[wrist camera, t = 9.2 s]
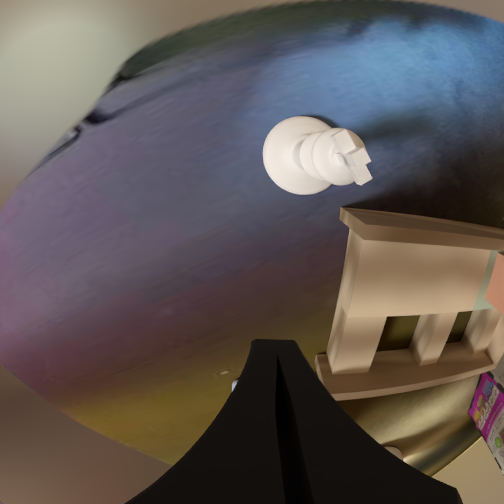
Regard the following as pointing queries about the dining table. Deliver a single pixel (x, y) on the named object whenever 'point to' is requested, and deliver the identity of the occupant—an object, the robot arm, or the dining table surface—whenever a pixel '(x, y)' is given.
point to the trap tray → (411, 304)
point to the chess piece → (314, 156)
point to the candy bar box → (491, 410)
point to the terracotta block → (497, 285)
